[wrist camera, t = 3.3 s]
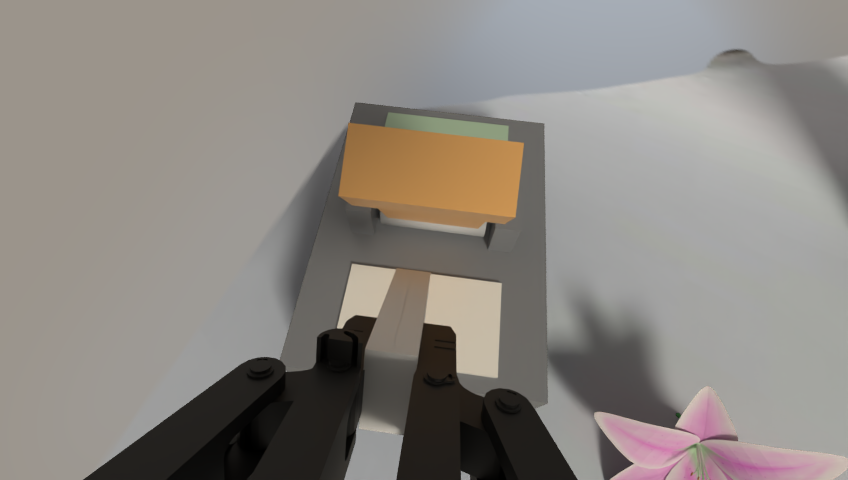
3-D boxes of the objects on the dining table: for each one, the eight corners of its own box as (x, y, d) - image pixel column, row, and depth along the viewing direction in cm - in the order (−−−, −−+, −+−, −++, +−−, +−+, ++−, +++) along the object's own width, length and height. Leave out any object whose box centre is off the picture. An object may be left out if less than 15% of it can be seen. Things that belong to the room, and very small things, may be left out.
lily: (553, 394, 32) (578, 456, 23) (691, 321, 31) (779, 355, 21) (638, 532, 31) (702, 657, 22) (786, 464, 30) (923, 567, 20)
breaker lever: (481, 240, 29) (521, 218, 15) (383, 228, 29) (333, 195, 15) (485, 201, 29) (529, 143, 15) (388, 190, 29) (343, 122, 15)
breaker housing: (516, 416, 31) (564, 396, 21) (308, 386, 31) (261, 353, 22) (521, 181, 41) (555, 95, 31) (365, 162, 42) (350, 73, 32)
